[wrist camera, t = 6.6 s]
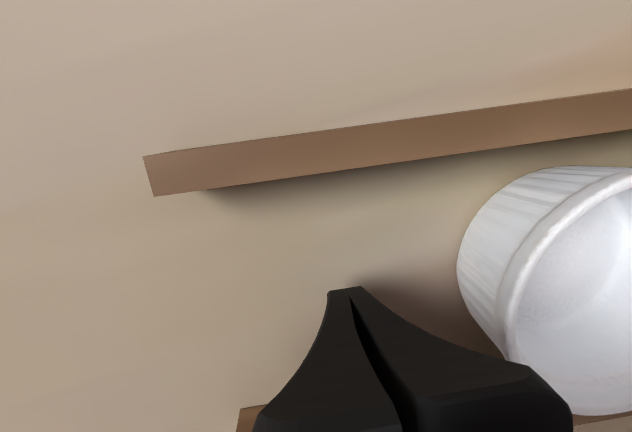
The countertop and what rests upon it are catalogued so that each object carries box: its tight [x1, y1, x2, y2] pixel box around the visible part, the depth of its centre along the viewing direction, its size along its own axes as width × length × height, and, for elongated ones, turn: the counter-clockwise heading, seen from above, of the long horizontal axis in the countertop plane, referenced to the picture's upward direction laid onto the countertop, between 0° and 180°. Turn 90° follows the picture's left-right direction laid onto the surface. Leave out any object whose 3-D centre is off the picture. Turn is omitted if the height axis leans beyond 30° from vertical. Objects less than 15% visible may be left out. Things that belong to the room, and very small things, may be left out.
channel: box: [143, 88, 632, 432], centre depth 12 cm, size 13×20×2 cm
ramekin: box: [457, 166, 632, 416], centre depth 12 cm, size 9×9×4 cm
